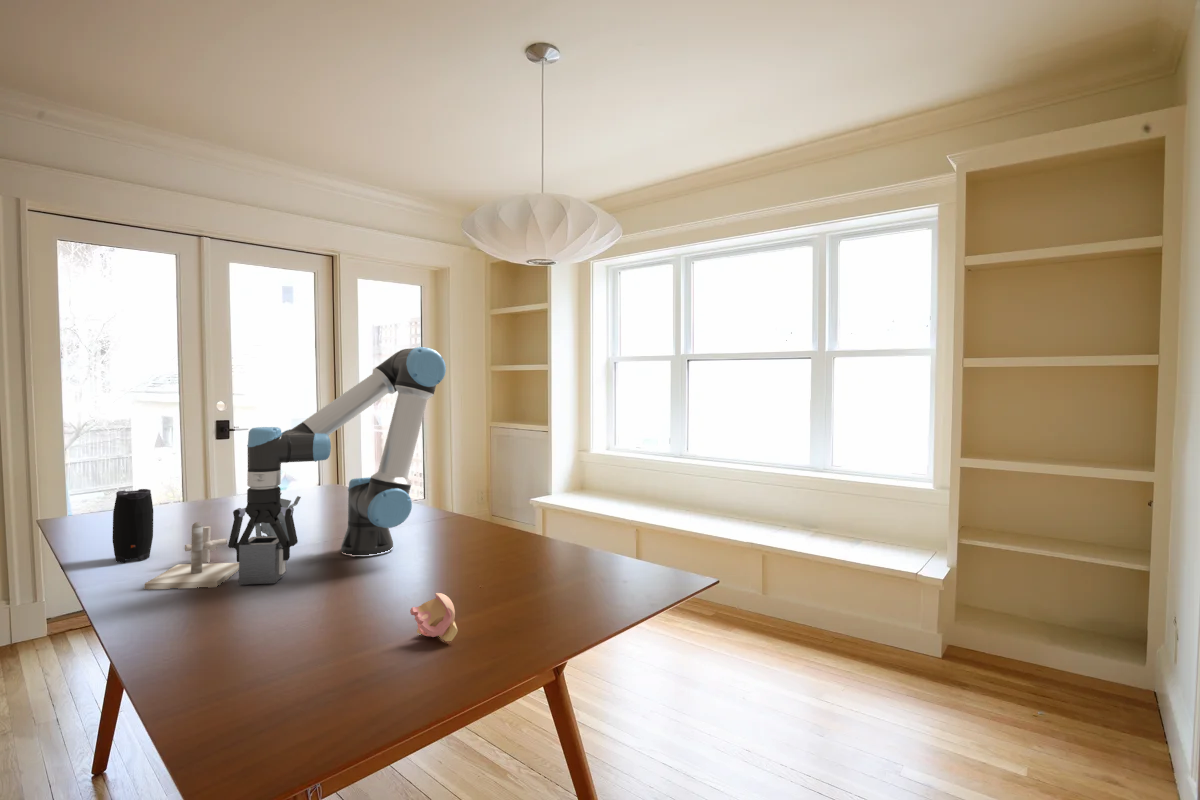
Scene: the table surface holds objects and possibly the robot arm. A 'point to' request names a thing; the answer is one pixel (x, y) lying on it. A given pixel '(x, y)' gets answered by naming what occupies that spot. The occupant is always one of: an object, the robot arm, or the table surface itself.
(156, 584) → the keeper board
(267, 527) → the bracket
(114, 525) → the portable speaker
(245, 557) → the gray open tub
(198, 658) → the table surface
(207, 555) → the wooden peg rack
